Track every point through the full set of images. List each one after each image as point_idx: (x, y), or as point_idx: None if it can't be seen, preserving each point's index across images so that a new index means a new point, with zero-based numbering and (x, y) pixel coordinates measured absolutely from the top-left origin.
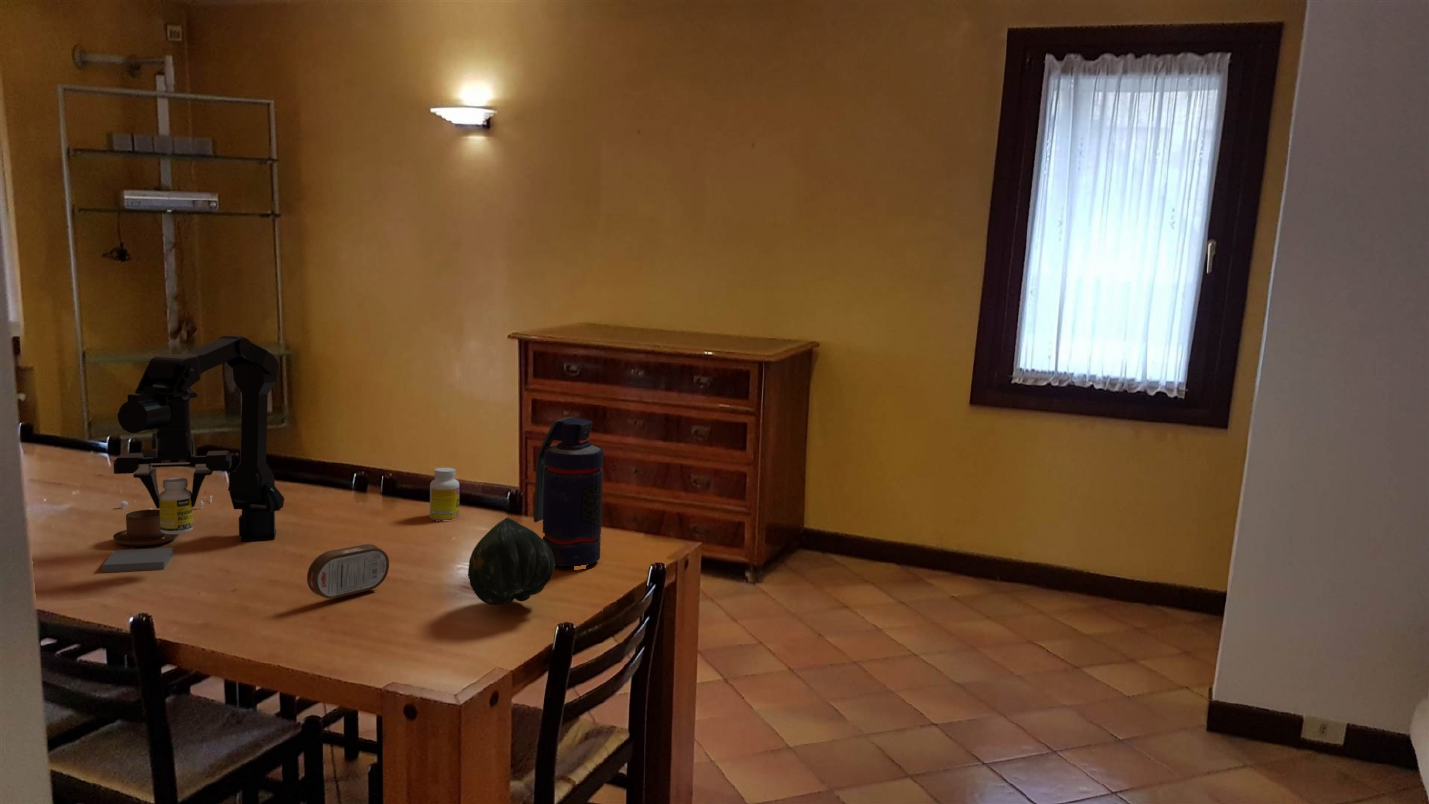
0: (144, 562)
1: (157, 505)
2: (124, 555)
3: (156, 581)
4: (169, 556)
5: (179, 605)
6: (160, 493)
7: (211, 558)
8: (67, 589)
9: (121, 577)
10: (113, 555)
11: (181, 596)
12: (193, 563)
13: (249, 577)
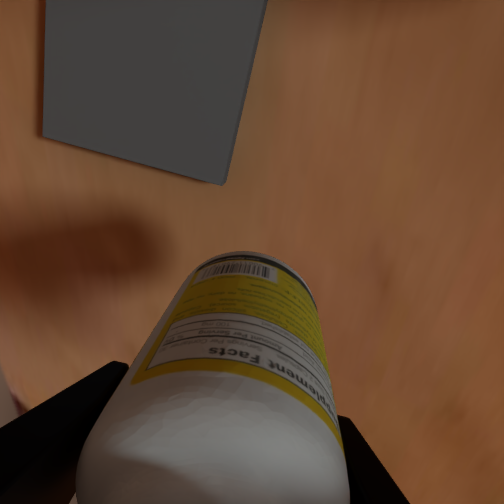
0: (165, 167)
1: None
2: (95, 25)
3: None
4: (251, 63)
5: None
6: (76, 493)
7: (386, 111)
8: (3, 261)
9: (115, 213)
10: (56, 4)
11: None
12: (317, 152)
13: (415, 361)
